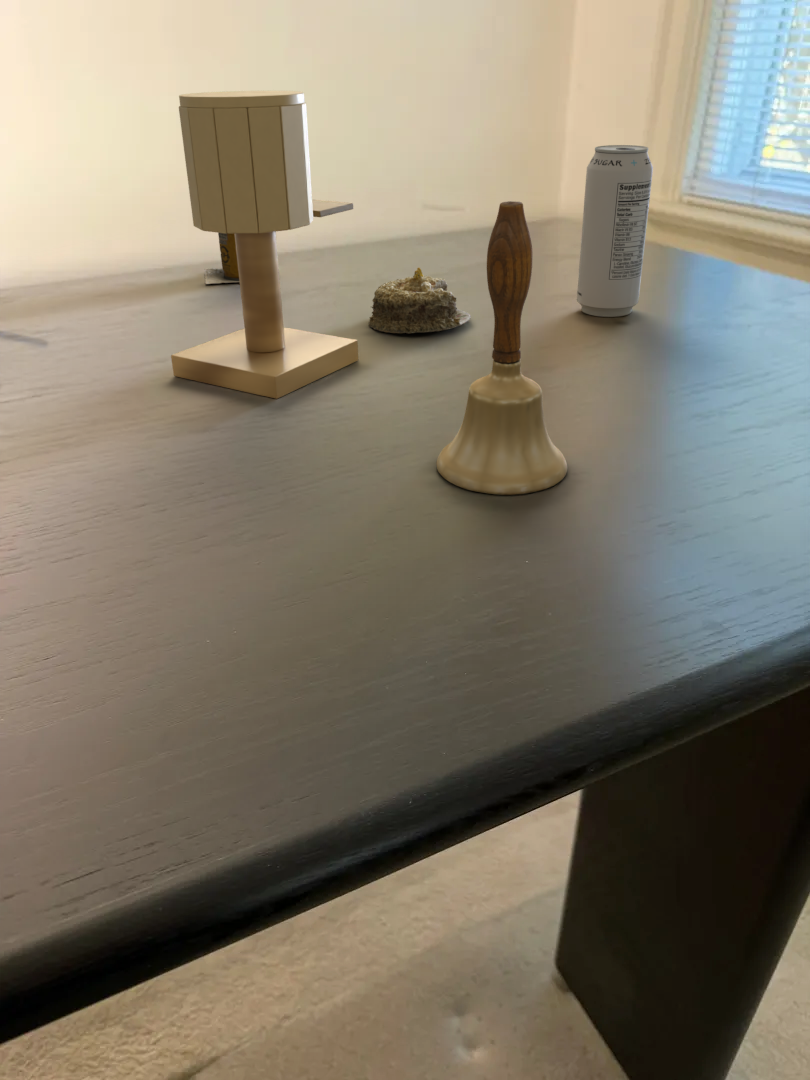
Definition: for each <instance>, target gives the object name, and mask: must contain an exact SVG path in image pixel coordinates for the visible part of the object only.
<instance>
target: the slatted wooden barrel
mask: <svg viewBox="0 0 810 1080" xmlns="http://www.w3.org/2000/svg"><path fill="white" fill-rule="evenodd" d="M178 98H179V106H178V113H179V120H180V122H179V123H180V129H181V136H182V144H183V152H184V161H185V169H186V176H187V184H188V192H189V193H188V194H189V201H190V208H191V216H192V224H193V227H195V228H197V229H199V230H201V231H202V232H209V233H217V234H218V233H228V234H233V233H258V232H259V233H266V232H276V233H277V232H283V231H291V230H295V229H299V228H303V227H307V226H309V225H311V223H312V222H313V221H314V218H324V217H327V216H331V215H336V214H339V213H343V212H347V211H351V210H354V203H353V202H346V201H336V200H335V201H334V200H322V199H313V191H312V190H313V189H312V188H313V187H312V174H311V159H310V156H311V155H310V144H309V142H310V141H309V126H308V112H307V109H308V108H307V102H305V92H304V91H300V90H299V91H298V90H230V91H227V90H225V91H207V92H205V91H204V92H191V93H183V94H179V95H178Z"/></svg>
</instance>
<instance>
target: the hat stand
mask: <svg viewBox="0 0 810 1080" xmlns="http://www.w3.org/2000/svg"><path fill="white" fill-rule="evenodd" d="M235 243H236V252H237V262H238V271H239V281H240V282H239V287H240V288H239V289H240V290H239V291H240V299H241V307H242V316H243V327H244V328H240V329H238V330H236V331H233V332H230V333H228V334H225V335H221V336H220V337H216V338H214V339H211V340H208V341H206V342H203V343H200V344H198V345H195V346H192V347H189V348H186V349H184V350H181V351H178V352H176V353H173V354H171V355H170V358H171V366H172V372H173V376H174V377H178V378H181V379H186V380H191V381H195V382H198V383H199V382H200V383H204V384H208V385H213V386H217V387H223V388H226V389H231V390H235V391H239V392H240V391H241V392H244V393H249V394H254V395H258V396H263V397H266V398H271V399H276V400H278V399H280V398H282V397H284V396H286V395H288V394H290V393H293V392H295V391H296V390H299V389H301V388H303V387H305V386H307V385H309V384H311V383H314V382H315V381H318V380H320V379H323V378H324V377H326V376H329V375H330V374H332V373H335V372H337V371H339V370H341V369H343V368H345V367H347V366H349V365H352V364H354V363H356V362H359V340H358V339H354V338H348V337H342V336H336V335H332V334H331V335H330V334H324V333H319V332H313V331H308V330H302V329H296V328H290V327H285V324H284V316H283V315H284V314H283V302H282V301H283V300H282V289H281V278H280V266H279V265H280V264H279V254H278V242H277V231H276V232H266V233H259V232H258V233H235Z"/></svg>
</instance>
